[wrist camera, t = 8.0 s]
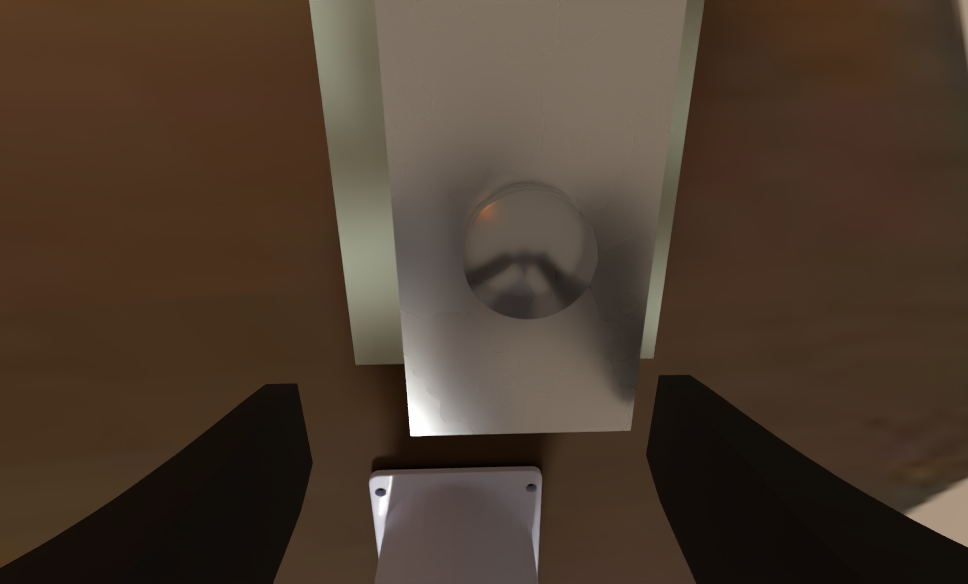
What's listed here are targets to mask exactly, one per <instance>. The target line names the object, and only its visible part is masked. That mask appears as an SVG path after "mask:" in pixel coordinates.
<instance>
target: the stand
mask: <svg viewBox="0 0 968 584" xmlns="http://www.w3.org/2000/svg"><path fill="white" fill-rule="evenodd" d="M704 1H705V0H687V4H686V12H685V19H684V27H683V35H682V42H681V50H680V57H679V65H678V73H677V80H676V88H675V95H674V103H673V111H672V118H671V126H670V134H669V141H668V149H667V156H666V164H665V172H664V179H663V187H662V194H661V202H660V210H659V217H658V225H657V233H656V240H655V248H654V255H653V263H652V271H651V278H650V286H649V293H648V301H647V309H646V316H645V324H644V332H643V339H642V347H641V354H640V359H641V358H653V357H654V350H655V343H656V336H657V329H658V322H659V315H660V308H661V301H662V294H663V287H664V280H665V273H666V266H667V259H668V252H669V245H670V238H671V231H672V224H673V217H674V210H675V203H676V196H677V189H678V182H679V175H680V168H681V161H682V154H683V147H684V140H685V133H686V126H687V119H688V112H689V105H690V98H691V91H692V84H693V77H694V70H695V63H696V56H697V49H698V42H699V35H700V28H701V21H702V15H703V8H704ZM309 3H310V10H311V18H312V26H313V34H314V42H315V50H316V57H317V65H318V73H319V81H320V89H321V97H322V104H323V112H324V120H325V128H326V136H327V144H328V151H329V159H330V167H331V175H332V183H333V191H334V199H335V206H336V214H337V222H338V230H339V238H340V246H341V253H342V261H343V269H344V277H345V285H346V293H347V300H348V308H349V316H350V324H351V332H352V340H353V347H354V355H355V363H356V365H372V364H405V362H404V350H403V338H402V326H401V314H400V302H399V290H398V278H397V266H396V254H395V242H394V230H393V217H392V205H391V193H390V181H389V169H388V157H387V145H386V133H385V121H384V109H383V97H382V85H381V72H380V60H379V48H378V36H377V24H376V12H375V0H309Z"/></svg>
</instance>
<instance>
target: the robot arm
mask: <svg viewBox="0 0 968 584" xmlns="http://www.w3.org/2000/svg"><path fill="white" fill-rule="evenodd" d="M646 456H647V459H648V463H649V466H650V470H651V473H652V477H653V480H654V483H655V487H656V490H657V493H658V496H659V499H660V502H661V505H662V507H663V509H664V512H665V514H666V516H667V519H668V521H669V523H670V525H671V528H672V530H673V532H674V534H675V537H676V539H677V541H678V544H679V546H680V548H681V550H682V552H683V555H684V557H685V559H686V561H687V564H688V566H689V568H690V570H691V572H692V575H693V577H694V579H695V581H696V584H968V547H966V546H964V545H962V544H960V543H957V542H955V541H953V540H951V539H949V538H947V537H945V536H943V535H941V534H939V533H937V532H935V531H933V530H931V529H930V528H928V527H926V526H924V525H922V524H920V523H918V522H916V521H914V520H912V519H910V518H909V517H907V516H905V515H903V514H901V513H900V512H898V511H896V510H894V509H893V508H891V507H889V506H887V505H885V504H884V503H882V502H880V501H878V500H876V499H875V498H873V497H871V496H869V495H868V494H866V493H864V492H862V491H861V490H859V489H857V488H856V487H854V486H852V485H851V484H849V483H847V482H845V481H844V480H842V479H841V478H839V477H837V476H836V475H834V474H833V473H831V472H830V471H828V470H826V469H825V468H823V467H822V466H820V465H819V464H817V463H815V462H814V461H812V460H811V459H809V458H808V457H806V456H805V455H803V454H802V453H800V452H799V451H797V450H796V449H794V448H793V447H791V446H790V445H788V444H787V443H785V442H784V441H782V440H781V439H779V438H778V437H776V436H775V435H774V434H772V433H771V432H769V431H768V430H767V429H765V428H764V427H762V426H761V425H759V424H758V423H757V422H755V421H754V420H752V419H751V418H750V417H748V416H747V415H746V414H744V413H743V412H741V411H740V410H739V409H737V408H736V407H735V406H733V405H732V404H730V403H729V402H728V401H726V400H725V399H724V398H722V397H721V396H719V395H718V394H717V393H715V392H714V391H712V390H711V389H710V388H708V387H707V386H705V385H704V384H703V383H701V382H700V381H698V380H697V379H695V378H693V377H692V376H690V375H661V376H659V379H658V385H657V391H656V397H655V404H654V410H653V416H652V422H651V428H650V434H649V440H648V446H647V452H646ZM312 464H313V462H312V457H311V452H310V447H309V442H308V436H307V431H306V426H305V421H304V416H303V411H302V406H301V401H300V396H299V391H298V386H297V384H266V385H264V386H263V387H262V388H260V389H259V390H257V391H256V392H255V393H253V394H252V395H251V396H250V397H248V398H247V399H246V400H244V401H243V402H242V403H241V404H239V405H238V406H237V407H236V408H234V409H233V410H232V411H231V412H229V413H228V414H227V415H226V416H225V417H223V418H222V419H221V420H220V421H218V422H217V423H216V424H214V425H213V426H212V427H211V428H209V429H208V430H207V431H206V432H204V433H203V434H202V435H201V436H199V437H198V438H197V439H195V440H194V441H193V442H192V443H190V444H189V445H188V446H187V447H185V448H184V449H183V450H181V451H180V452H179V453H177V454H176V455H175V456H173V457H172V458H171V459H169V460H168V461H166V462H165V463H164V464H162V465H161V466H160V467H158V468H157V469H155V470H154V471H153V472H151V473H150V474H149V475H147V476H146V477H144V478H143V479H142V480H140V481H139V482H138V483H136V484H135V485H133V486H132V487H131V488H129V489H128V490H127V491H125V492H124V493H122V494H121V495H119V496H118V497H116V498H115V499H113V500H112V501H111V502H109V503H108V504H106V505H104V506H103V507H101V508H100V509H98V510H97V511H95V512H94V513H92V514H91V515H89V516H88V517H86V518H84V519H83V520H81V521H80V522H78V523H76V524H75V525H73V526H72V527H70V528H68V529H67V530H65V531H64V532H62V533H60V534H59V535H57V536H56V537H54V538H52V539H51V540H49V541H47V542H46V543H44V544H42V545H41V546H39V547H37V548H35V549H34V550H32V551H30V552H28V553H26V554H25V555H23V556H21V557H19V558H18V559H16V560H14V561H12V562H10V563H9V564H7V565H5V566H3V567H2V568H0V584H273V582H274V579H275V577H276V574H277V571H278V569H279V566H280V564H281V561H282V559H283V556H284V554H285V551H286V549H287V546H288V543H289V541H290V538H291V536H292V533H293V530H294V528H295V525H296V522H297V520H298V517H299V514H300V512H301V508H302V504H303V501H304V497H305V493H306V489H307V485H308V481H309V476H310V472H311V468H312ZM528 484H534V485H533V486H527V485H528ZM369 488H370V495H371V503H372V511H373V519H374V526H375V534H376V542H377V549H378V557H379V561H378V566H377V572H376V577H375V583H374V584H538V556H539V535H540V514H541V493H542V475H541V471H540V470H539V468H537V467H534V466H518V467H481V468H444V469H406V470H378V471H375V472H373V473H372V474H371V476H370V480H369ZM378 488H383V489H385V490H379V489H378Z"/></svg>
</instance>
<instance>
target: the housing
mask: <svg viewBox="0 0 968 584" xmlns="http://www.w3.org/2000/svg"><path fill="white" fill-rule="evenodd" d="M686 4H687V0H375V12H376V24H377V36H378V48H379V60H380V72H381V85H382V97H383V109H384V121H385V133H386V145H387V157H388V169H389V181H390V193H391V205H392V217H393V230H394V242H395V254H396V266H397V278H398V290H399V302H400V314H401V326H402V338H403V350H404V362H405V375H406V387H407V399H408V411H409V423H410V435H411V436H435V435H474V434H514V433H553V432H593V431H631V423H632V415H633V408H634V400H635V392H636V385H637V377H638V370H639V362H640V354H641V347H642V339H643V332H644V324H645V316H646V309H647V301H648V293H649V286H650V278H651V271H652V263H653V255H654V248H655V240H656V233H657V225H658V217H659V210H660V202H661V194H662V187H663V179H664V172H665V164H666V156H667V149H668V141H669V134H670V126H671V118H672V111H673V103H674V95H675V88H676V80H677V73H678V65H679V57H680V50H681V42H682V35H683V27H684V19H685V12H686Z"/></svg>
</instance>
